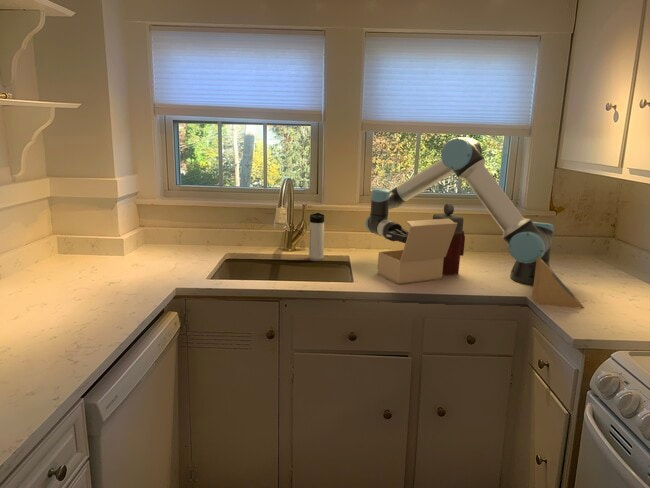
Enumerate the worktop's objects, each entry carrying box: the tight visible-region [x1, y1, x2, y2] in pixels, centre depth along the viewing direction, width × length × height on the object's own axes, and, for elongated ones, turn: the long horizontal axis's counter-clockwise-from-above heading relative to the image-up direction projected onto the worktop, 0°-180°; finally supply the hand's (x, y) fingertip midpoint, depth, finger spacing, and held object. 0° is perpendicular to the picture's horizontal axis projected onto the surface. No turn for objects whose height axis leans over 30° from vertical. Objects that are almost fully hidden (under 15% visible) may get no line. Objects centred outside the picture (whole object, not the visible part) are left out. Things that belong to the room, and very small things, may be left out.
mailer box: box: [376, 249, 444, 286], centre depth 193 cm, size 15×20×9 cm
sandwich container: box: [531, 256, 585, 309], centre depth 168 cm, size 9×15×15 cm, turn 79°
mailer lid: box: [400, 219, 458, 262], centre depth 183 cm, size 15×20×4 cm
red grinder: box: [432, 203, 466, 276], centre depth 199 cm, size 9×11×28 cm
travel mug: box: [308, 212, 325, 262], centre depth 213 cm, size 6×7×20 cm
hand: (424, 244), depth 182 cm, fingers closed
